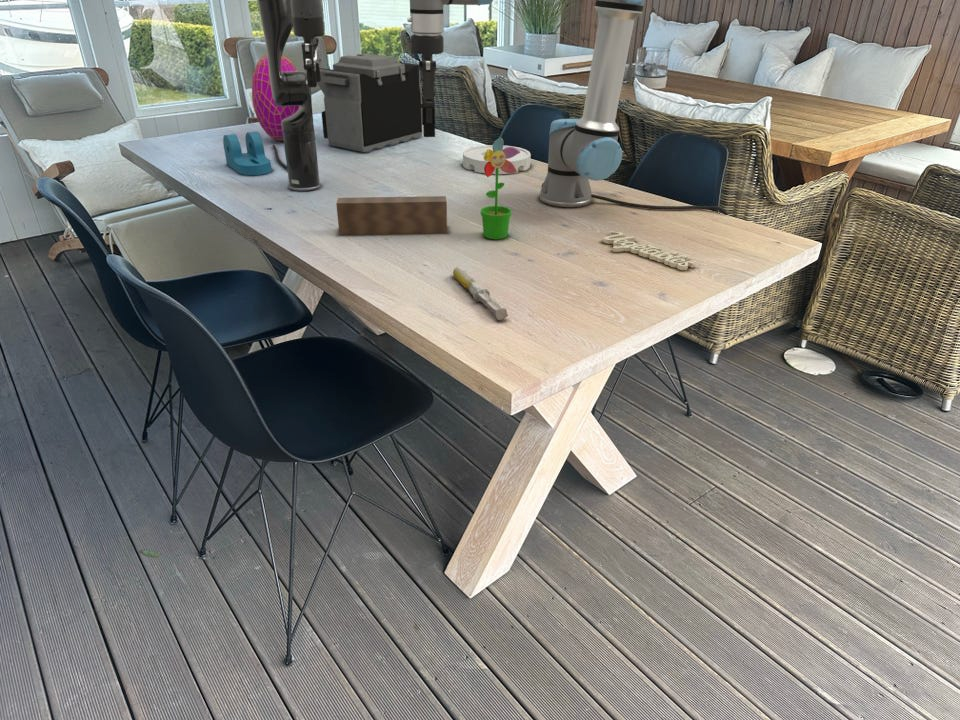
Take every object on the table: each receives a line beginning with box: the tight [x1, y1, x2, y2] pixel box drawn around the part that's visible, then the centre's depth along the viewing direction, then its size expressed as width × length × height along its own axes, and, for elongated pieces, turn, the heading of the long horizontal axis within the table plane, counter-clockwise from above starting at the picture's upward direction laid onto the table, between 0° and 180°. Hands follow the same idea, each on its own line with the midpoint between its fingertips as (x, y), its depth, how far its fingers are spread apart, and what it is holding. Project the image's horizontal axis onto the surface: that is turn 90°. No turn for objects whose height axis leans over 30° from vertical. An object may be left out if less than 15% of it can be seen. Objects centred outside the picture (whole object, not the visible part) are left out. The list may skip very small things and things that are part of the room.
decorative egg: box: [251, 55, 299, 142], centre depth 257 cm, size 19×19×30 cm
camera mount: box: [222, 131, 272, 176], centre depth 226 cm, size 18×10×10 cm, turn 35°
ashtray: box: [462, 144, 532, 175], centre depth 235 cm, size 23×23×4 cm
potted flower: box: [480, 137, 520, 240], centre depth 170 cm, size 9×8×25 cm
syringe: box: [452, 266, 509, 321], centre depth 145 cm, size 25×4×3 cm, turn 21°
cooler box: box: [317, 53, 423, 153], centre depth 257 cm, size 37×22×30 cm, turn 144°
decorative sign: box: [603, 230, 695, 271], centre depth 167 cm, size 26×1×10 cm
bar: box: [336, 195, 448, 236], centre depth 177 cm, size 28×5×8 cm, turn 95°
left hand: (314, 84), depth 179 cm, fingers open, 8 cm apart
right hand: (428, 130), depth 167 cm, fingers open, 13 cm apart
